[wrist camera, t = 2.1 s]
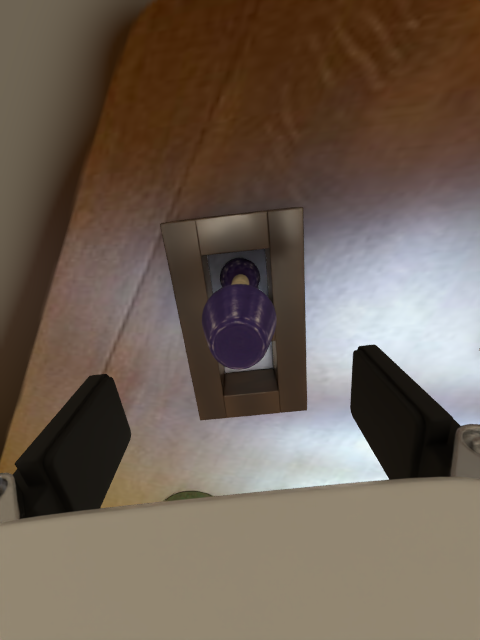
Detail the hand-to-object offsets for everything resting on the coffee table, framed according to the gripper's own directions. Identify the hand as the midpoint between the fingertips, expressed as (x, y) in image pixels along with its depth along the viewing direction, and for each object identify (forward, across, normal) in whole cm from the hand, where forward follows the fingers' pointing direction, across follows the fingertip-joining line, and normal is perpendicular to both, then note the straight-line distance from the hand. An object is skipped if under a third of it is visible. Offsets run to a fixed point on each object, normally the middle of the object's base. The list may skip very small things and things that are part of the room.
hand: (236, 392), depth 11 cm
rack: (+20, 0, +4) cm, 21 cm away
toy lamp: (+20, -1, 0) cm, 20 cm away
